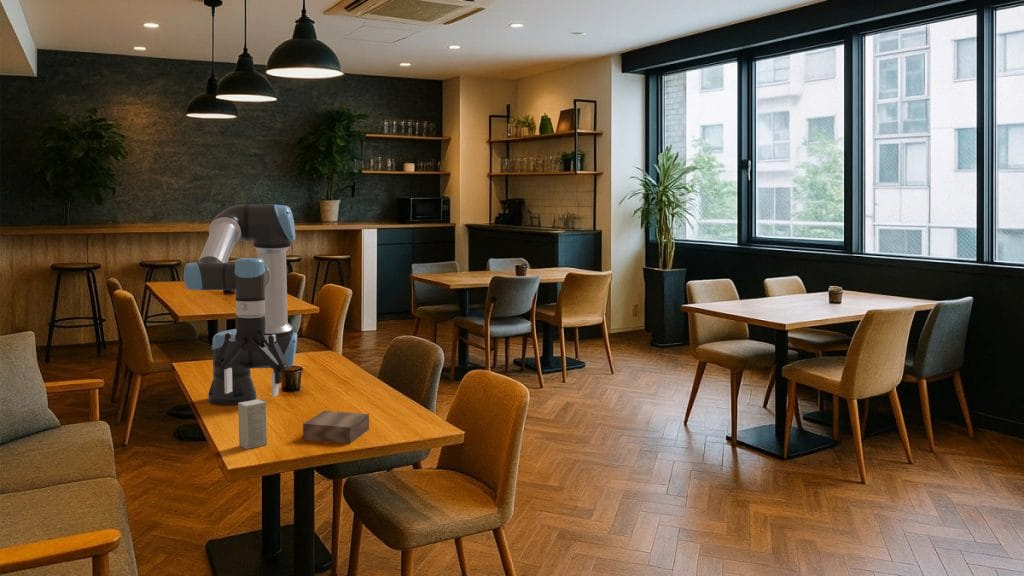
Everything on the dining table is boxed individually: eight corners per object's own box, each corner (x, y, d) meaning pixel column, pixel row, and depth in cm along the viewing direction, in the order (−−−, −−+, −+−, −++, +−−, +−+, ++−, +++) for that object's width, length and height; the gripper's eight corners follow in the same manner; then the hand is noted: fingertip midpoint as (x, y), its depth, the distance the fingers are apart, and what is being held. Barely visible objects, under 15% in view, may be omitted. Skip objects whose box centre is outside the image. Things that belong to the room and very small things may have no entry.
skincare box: (259, 441, 223) (259, 398, 221) (267, 445, 220) (266, 401, 218) (238, 446, 218) (237, 402, 217) (245, 449, 215) (244, 405, 214)
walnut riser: (303, 441, 225) (303, 423, 225) (324, 427, 239) (324, 410, 238) (350, 444, 222) (350, 427, 222) (369, 430, 236) (369, 414, 235)
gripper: (199, 315, 213) (201, 394, 215) (287, 319, 209) (288, 399, 211) (215, 312, 221) (216, 388, 223) (300, 315, 216) (301, 393, 219)
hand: (251, 394), depth 217 cm, fingers open, 13 cm apart
